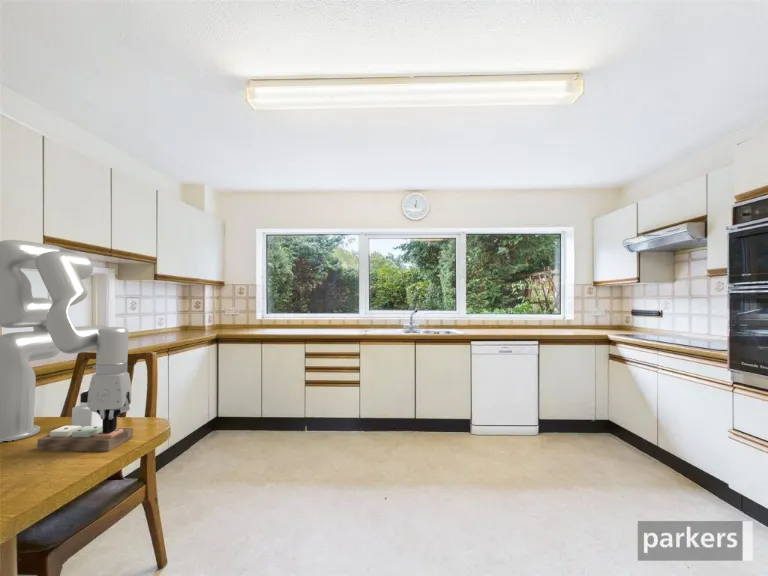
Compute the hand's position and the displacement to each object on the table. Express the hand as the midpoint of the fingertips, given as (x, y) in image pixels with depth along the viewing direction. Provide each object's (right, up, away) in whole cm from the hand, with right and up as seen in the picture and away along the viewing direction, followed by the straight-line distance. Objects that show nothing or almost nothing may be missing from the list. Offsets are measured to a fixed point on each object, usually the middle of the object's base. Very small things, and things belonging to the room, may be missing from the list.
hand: (109, 431), depth 108 cm
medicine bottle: (-17, -4, +14) cm, 22 cm away
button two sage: (-6, -2, 0) cm, 7 cm away
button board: (-6, -4, 0) cm, 7 cm away
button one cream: (-13, -2, 0) cm, 13 cm away
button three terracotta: (0, -3, 0) cm, 3 cm away
